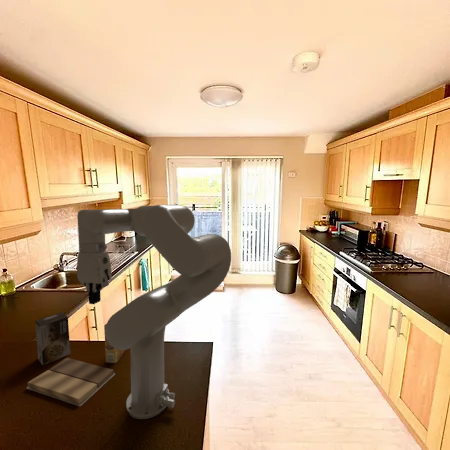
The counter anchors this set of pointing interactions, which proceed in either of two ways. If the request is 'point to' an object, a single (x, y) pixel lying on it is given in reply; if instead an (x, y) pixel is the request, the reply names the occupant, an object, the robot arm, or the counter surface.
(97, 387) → the underlay mat
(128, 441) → the counter surface
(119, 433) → the counter surface
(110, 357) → the candy box
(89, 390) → the oak plank
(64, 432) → the counter surface
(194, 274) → the robot arm
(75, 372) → the walnut plank
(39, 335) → the coffee box
